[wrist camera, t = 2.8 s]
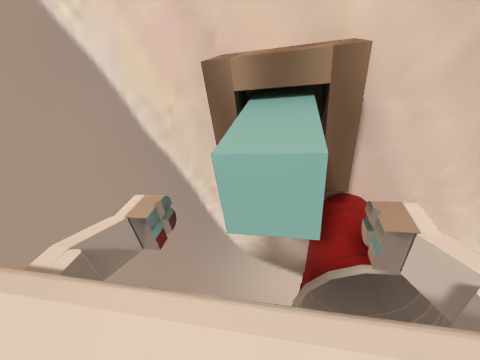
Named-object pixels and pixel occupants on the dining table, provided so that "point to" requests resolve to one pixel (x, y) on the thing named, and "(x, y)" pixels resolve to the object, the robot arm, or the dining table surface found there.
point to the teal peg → (274, 166)
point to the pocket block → (298, 75)
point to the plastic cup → (357, 272)
